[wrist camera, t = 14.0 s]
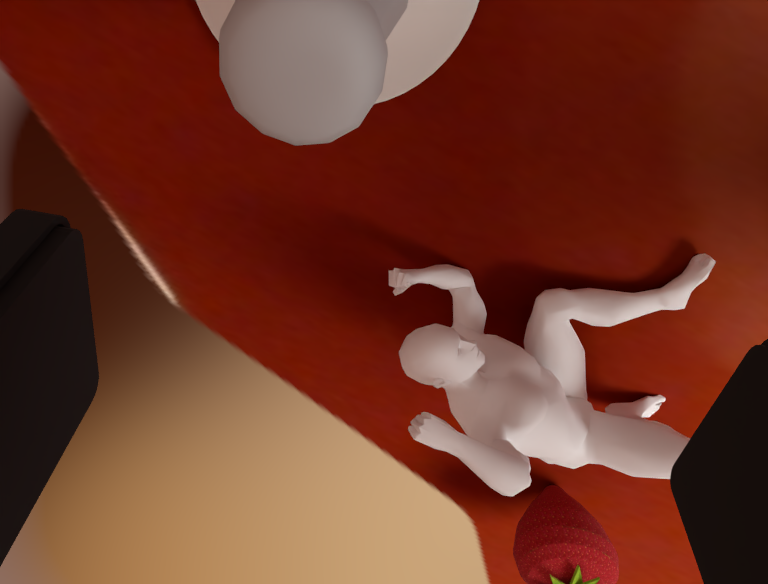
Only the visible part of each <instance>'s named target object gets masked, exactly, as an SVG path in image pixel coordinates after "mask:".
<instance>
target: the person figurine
mask: <svg viewBox="0 0 768 584" xmlns="http://www.w3.org/2000/svg"><path fill="white" fill-rule="evenodd" d="M715 262H716V261H715V260H714V259H713V258H712V257H710V256H709V255H706V254H705V253H704V254H698V255H696V256H694V257H692V259H691V260H690V262H689V264H688V266H687V267H686V269H685V270H684V271H683V273H682V274H681V275H679V276H678V277H676V278H675V279H673V280H672V281H671V282H669V283H668V284H666V285H665V286H663V287H662V288H658V289H653V290H647V291H642V292H636V293H629V292H620V291H612V290H604V289H595V288H583V289H575V290H567V289H563V288H556V289H548V290H544V291H543V292H542V293H541V294H540V295H538V296H537V298H536V300H535V303H534V307H533V310H532V314H531V316H530V318H529V321H528V323H527V327H526V332H525V337H524V349H525V350H524V349H523V348H521V347H520V346H518V345H516V344H514V343H512V342H510V341H508V340H506V339H504V338H502V337H499V336H497V335H490V334H484V327H485V322H486V317H487V312H486V309H485V305H484V302H483V300H482V299H481V297H480V295H479V294H478V292H477V290H476V287H475V283H474V280H473V277H472V275H471V274H470V272H469V270H467V269H463V268H460V267H456V266H452V265H449V264H443V265H433V266H430V267H427V268H423V269H398V268H394V270H390V271H389V286H392V287H394V288H395V289H394V290H393V293H394V295H395V296H396V295H398V294H400V293H403V292H404V291H405V290H406V289H407V288H409V287H410V286H411V285H413V284H417V283H425V284H432V285H434V286H436V287H439V288H441V289H448V290H449V291H450V293H451V294H452V297H453V325H452V327H447V326H444V325H440V324H437V323H435V324H432V325H428V326H425V327H421V328H418V329H415V330H414V331H413V332H411V333H410V334H408V335H407V336H406V338H405V340H404V342H403V344H402V346H401V348H400V350H399V356H400V360H401V365H402V368H403V370H404V372H405V373H406V375H407V376H409V377H410V378H412V379H414V380H416V381H418V382H419V383H422V384H426V385H433V386H434V387H436V388H440V387H443V388H444V389H445V390H446V393H447V398H448V402H449V406H450V410H451V413H452V414H453V415H454V417H455V418H456V420H457V421H458V423H459V424H460V426H461V427H462V429H463V430H464V431H465V433H466V434H467V436H466V435H464V434H462V433H459V432H457V431H456V430H455V429H454V428H453V427H451V426H450V425H449V424H448V423H447V422H445V421H444V420H442V419H440V418H438V417H436V416H434V415H432V414H430V413H428V412H422V413H421V415H417V416H416V418H414V419H413V420H412V421H411V422H410V423H411V424H412V426H409V427H408V431H409V432H410V434H411V436H412V437H413V439H414V440H416V441H418V442H421V443H423V444H425V445H427V446H430V447H432V448H434V449H438V450H442V451H446V452H448V453H450V454H452V455H454V456H456V457H458V458H459V459H460V460H461V461H462V462H463V463H464V464H465V465H467V466H468V467H469V468H470V469H471V470H472V471H473V472H474V473H475V474H476V475H477V476H478V477H479V478H481V479H482V480H483V481H484V482H485V483H486V484H487V485H488V486H489V487H490V488H492V489H493V490H495V491H497V492H498V493H500V494H501V495H503V496H512V497H513V496H514V495H516V494H518V493H519V492H521V491H522V490H524V489H526V488H528V487H529V486H530V484H531V481H532V480H531V477H530V470H531V467H530V462H529V458H528V457H527V456H530V457H536V458H539V459H541V460H543V461H544V462H546V463H548V464H557V465H561V466H564V467H568V468H572V469H575V468H578V467H580V466H583V465H586V464H588V463H591V464H602V465H604V466H607V467H609V468H612V469H614V470H617V471H619V472H622V473H625V474H627V475H630V476H632V477H646V478H661V479H670V476H671V470H672V467H673V465H674V463H675V462H676V460H677V459H678V457H679V455H680V454H681V452H682V451H683V449H684V448H685V446H686V445H687V443H688V442H689V440H690V438H688V437H686V436H684V435H682V434H680V433H678V432H677V431H675V430H673V429H672V428H671V427H670V426H667V425H665V424H662V423H660V422H657V421H649V420H647V419H644V418H642V417H650V416H651V414H654V413H655V411H657V410H658V409H659V407H660V406H661V404H662V403H661V402H665V400H666V399H665V397H663V396H661V395H656V396H645V397H643V398H641V399H639V400H636V401H634V402H629V403H611V404H610V405H608V406H607V407H606V408H605V411H606V413H603V412H599V411H595V410H594V409H593V407H592V404H591V403H590V402H588V401H587V391H586V370H585V350H584V348H583V346H582V344H581V342H580V340H579V338H578V336H577V334H576V333H575V331H574V329H573V327H572V326H571V324H570V321H569V319H575V320H578V321H581V322H584V323H586V324H589V325H592V326H607V327H610V326H613V325H616V324H619V323H622V322H625V321H628V320H631V319H634V318H637V317H640V316H643V315H646V314H649V313H652V312H655V311H658V310H679V309H685V306H686V304H687V301H688V299H689V297H690V294H691V292H692V291H693V290H694V289H695V287H697V286H698V285H699V284H701V283H702V282H703V281H705V280H706V279H707V278H708V276H709V273H710V271H711V270H712V268H713V266H714V264H715Z"/></svg>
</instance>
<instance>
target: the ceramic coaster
mask: <svg viewBox="0 0 768 584" xmlns="http://www.w3.org/2000/svg"><path fill="white" fill-rule="evenodd" d="M234 2H235V0H196V3H197V5H198V7H199V9H200V12H201V14H202V16H203V18H204V20H205V22H206V23H207V25H208V27H209V28H210V30H211V32H212V34H213V35H214V36H215V38H216V39H217V40H218V42H219V36H220V29H221V27H222V25H223V23H224V21H225V20H226V18H227V16H228V14H229V12H230V10H231V8H232V6H233V4H234ZM478 3H479V0H408V4H407V9H406V10H405V12H404V13H403V15H402V16H401V18H400V19H399V21H398V23H397V24H396V26H395V27H394V29H393V30H392V32H391V33H390V35H389V36H388V38H387V39H386V44H387V49H388V57H387V63H386V70H385V77H384V83H383V90H382V92H381V94H380V95H379V97H378V99H377V100H376V102H375V103H374V104H376V103H380V102H383V101H387V100H389V99H392V98H394V97H397V96H399V95H401V94H404V93H405V92H407V91H409V90H410V89H412V88H414V87H416V86H417V85H419V84H420V83H422V82H423V81H424V80H425V79H427V78H428V77H429V76H431V75H432V74H433V73H434V72H435V71H436V70H437V69H438V68H439V67H440V66H441V65H442V64H443V63H444V62H445V61H446V60H447V59H448V58H449V56H450V55H451V54H452V53H453V51H454V50H455V49H456V47H457V46H458V45H459V43H460V41H461V40H462V38H463V36H464V35H465V33H466V31H467V30H468V28H469V25H470V23H471V21H472V19H473V16H474V14H475V12H476V9H477V6H478Z"/></svg>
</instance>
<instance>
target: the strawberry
mask: <svg viewBox="0 0 768 584" xmlns="http://www.w3.org/2000/svg"><path fill="white" fill-rule="evenodd" d="M513 555H514V558H515V561H516V564H517V567H518V570H519V573H520V575H521V577H522V578H523V580H524V581H525V582H526V583H528V584H616V582H617V580H618V576H619V566H618V556H617V552H616V550H615V548H614V547H613V545H612V543H611V541H610V540H609V538H608V536H607V534H606V533H605V531H604V529H603V527H602V526H601V525H600V523H599V522H598V521H597V520H596V519H595V518H594V517H593V516H592V515H591V514H590V513H589V512H588V511H587V510H586V509H585V508H584V507H583V506H582V505H581V504H580V503H578V502H577V501H576V500H574V499H573V498H572V497H570V496H569V495H568V494H567V493H566V492H565V491H564V490H563V489H561V488H560V487H558V486H556V485H549V486H547V487H545V488H544V489H543V491H542V493H541V494H540V495H539V496H538V497H537V498H536V499H535V500H534V501H533V502H532V503H531V504H530V506H529V507H528V509H527V510H526V512H525V513H524V515H523V517H522V518H521V520H520V521H519V523H518V526H517V529H516V535H515V542H514V548H513Z"/></svg>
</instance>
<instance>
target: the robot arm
mask: <svg viewBox="0 0 768 584" xmlns="http://www.w3.org/2000/svg"><path fill="white" fill-rule="evenodd" d="M98 379H99V372H98V363H97V355H96V346H95V338H94V329H93V321H92V312H91V304H90V295H89V288H88V278H87V270H86V261H85V253H84V244H83V239H82V234H81V233H80V231H79V230H77V229H72V228H70V224H69V222H68V220H67V218H65V217H63V216H60V215H54V214H48V213H43V212H37V211H31V210H25V209H17V210H15V211H14V212H12V213H11V214H10V215H9V216H8V217H7V218H6V219H5V220H4V221H3V222H2V223H1V224H0V566H1V564H2V563H3V561H4V559H5V557H6V555H7V554H8V552H9V550H10V548H11V546H12V545H13V543H14V541H15V539H16V537H17V536H18V534H19V532H20V530H21V528H22V526H23V525H24V523H25V521H26V519H27V518H28V516H29V514H30V512H31V510H32V509H33V507H34V505H35V503H36V501H37V499H38V498H39V496H40V494H41V492H42V491H43V488H44V487H45V485H46V483H47V482H48V480H49V478H50V476H51V474H52V473H53V471H54V469H55V467H56V465H57V464H58V462H59V460H60V458H61V456H62V455H63V453H64V451H65V449H66V447H67V445H68V444H69V442H70V440H71V438H72V436H73V435H74V433H75V431H76V429H77V427H78V426H79V424H80V422H81V420H82V419H83V417H84V415H85V413H86V411H87V410H88V408H89V406H90V404H91V402H92V400H93V398H94V396H95V393H96V390H97V386H98ZM670 484H671V489H672V493H673V496H674V498H675V501H676V504H677V507H678V510H679V513H680V516H681V519H682V522H683V524H684V527H685V530H686V533H687V536H688V539H689V542H690V545H691V547H692V550H693V553H694V556H695V559H696V562H697V565H698V568H699V571H700V573H701V576H702V579H703V582H704V584H768V339H767V340H765V341H764V342H763V343H762V344H761V345H755V346H754V347H752V348H751V349H750V350H749V351H748V352H747V354H746V355H745V357H744V358H743V360H742V361H741V363H740V364H739V366H738V368H737V369H736V371H735V372H734V374H733V375H732V377H731V378H730V380H729V381H728V383H727V384H726V386H725V387H724V389H723V390H722V392H721V393H720V395H719V396H718V398H717V399H716V401H715V402H714V404H713V405H712V407H711V408H710V410H709V411H708V413H707V415H706V416H705V418H704V419H703V421H702V422H701V424H700V425H699V427H698V428H697V430H696V431H695V433H694V434H693V436H692V437H691V439H690V440H689V442H688V443H687V445H686V446H685V448H684V449H683V451H682V452H681V454H680V455H679V457H678V459H677V460H676V462H675V463H674V465H673V467H672V470H671V476H670Z"/></svg>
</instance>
